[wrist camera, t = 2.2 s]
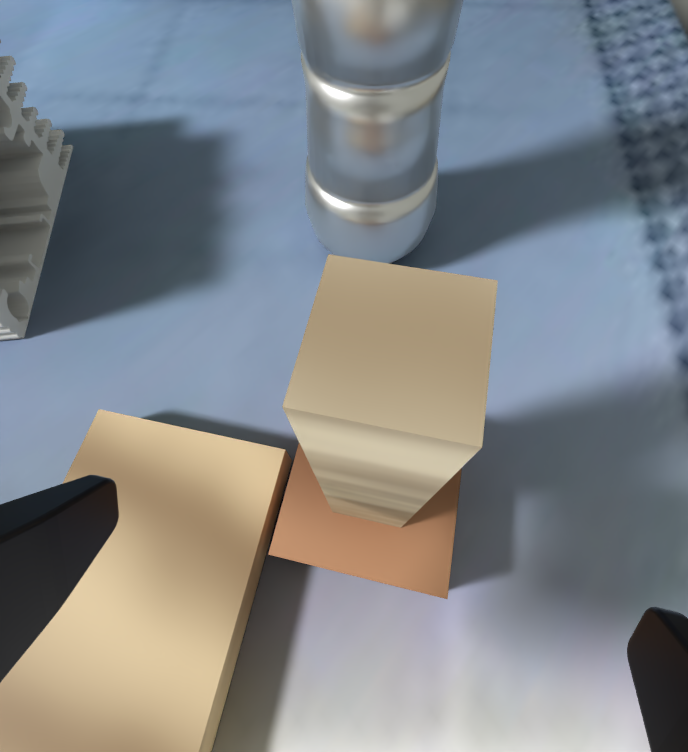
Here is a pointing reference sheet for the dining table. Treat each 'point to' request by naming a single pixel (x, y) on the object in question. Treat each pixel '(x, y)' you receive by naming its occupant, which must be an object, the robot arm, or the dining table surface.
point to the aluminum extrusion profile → (25, 199)
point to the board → (151, 596)
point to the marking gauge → (385, 421)
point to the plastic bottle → (373, 119)
